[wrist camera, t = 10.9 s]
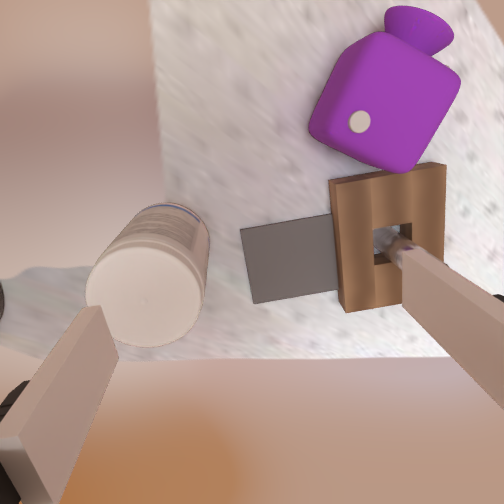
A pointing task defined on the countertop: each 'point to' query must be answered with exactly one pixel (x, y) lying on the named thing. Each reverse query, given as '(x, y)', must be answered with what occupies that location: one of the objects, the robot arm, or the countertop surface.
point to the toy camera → (388, 92)
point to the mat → (291, 258)
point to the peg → (394, 244)
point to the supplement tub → (152, 276)
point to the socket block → (378, 216)
